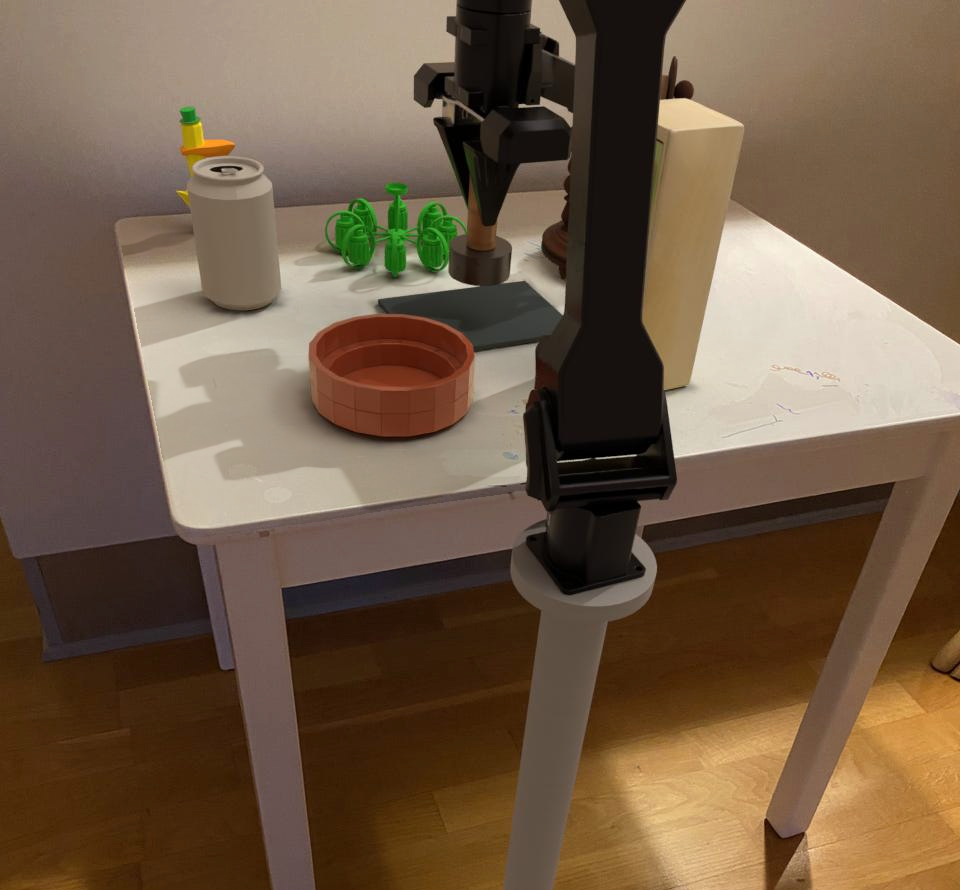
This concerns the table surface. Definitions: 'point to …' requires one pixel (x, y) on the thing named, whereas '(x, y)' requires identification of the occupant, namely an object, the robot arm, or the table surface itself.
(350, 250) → the chandelier
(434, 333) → the bowl
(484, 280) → the coffee tamper
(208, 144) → the toy figure
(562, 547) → the robot arm
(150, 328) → the table surface
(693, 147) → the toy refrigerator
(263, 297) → the can
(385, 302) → the mat
